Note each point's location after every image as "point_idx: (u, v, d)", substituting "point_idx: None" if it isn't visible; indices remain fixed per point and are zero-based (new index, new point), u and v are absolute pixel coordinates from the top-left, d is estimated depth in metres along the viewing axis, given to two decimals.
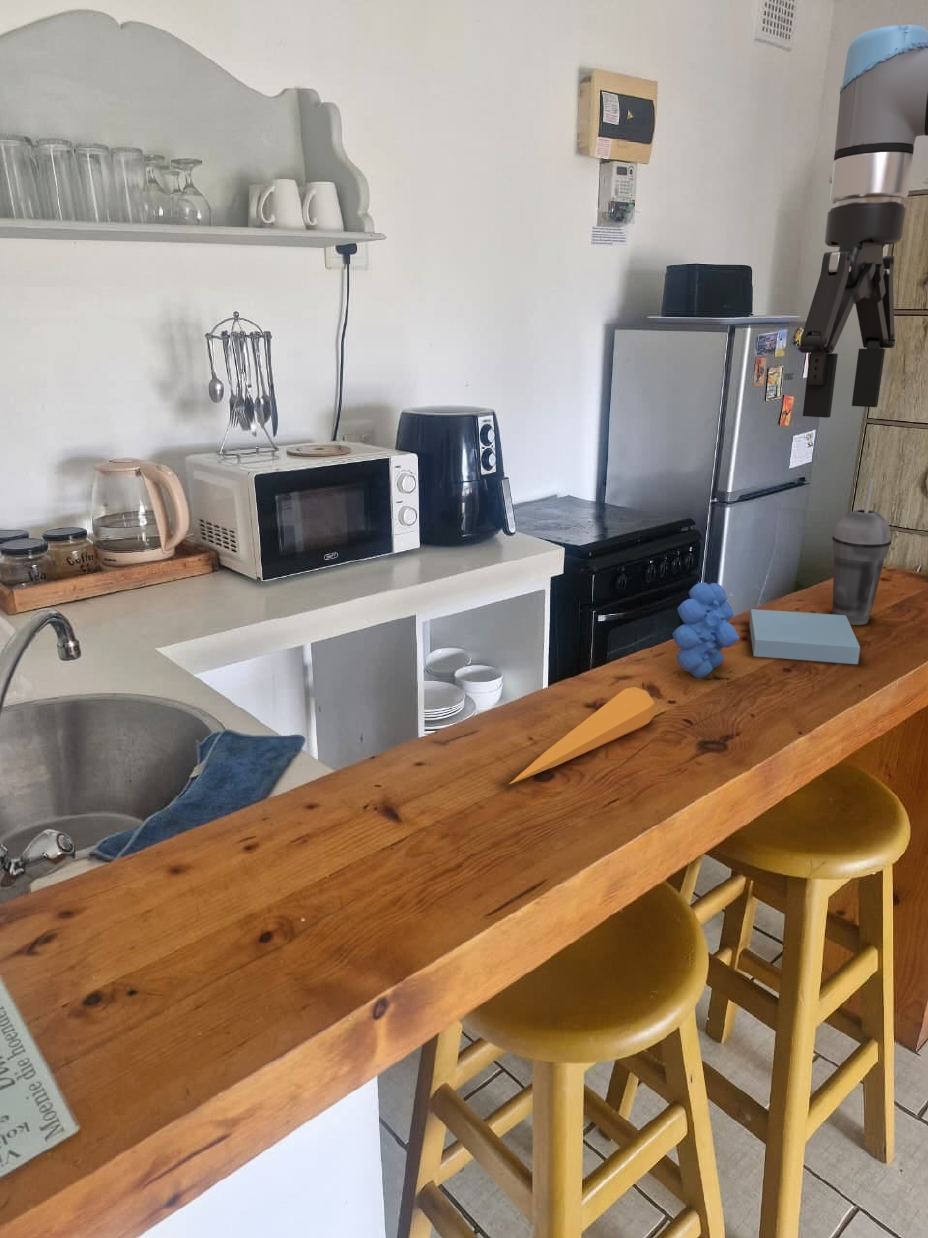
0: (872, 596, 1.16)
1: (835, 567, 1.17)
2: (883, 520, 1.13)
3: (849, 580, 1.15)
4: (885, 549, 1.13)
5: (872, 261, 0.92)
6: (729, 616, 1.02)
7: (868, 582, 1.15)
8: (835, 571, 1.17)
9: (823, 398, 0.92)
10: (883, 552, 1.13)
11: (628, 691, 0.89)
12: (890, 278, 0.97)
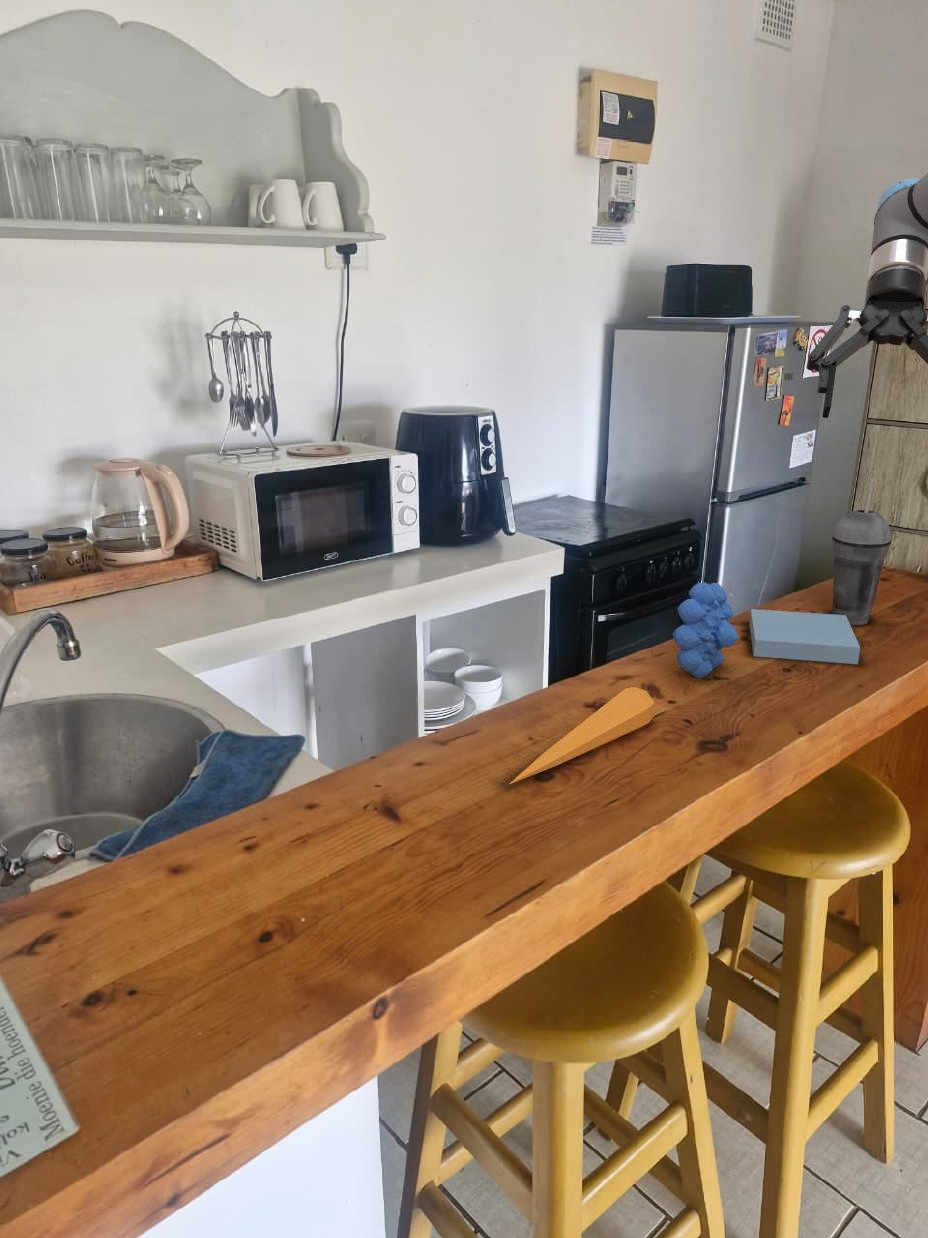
0: (872, 596, 1.16)
1: (835, 567, 1.17)
2: (883, 520, 1.13)
3: (849, 580, 1.15)
4: (885, 549, 1.13)
5: (898, 312, 1.18)
6: (729, 616, 1.02)
7: (868, 582, 1.15)
8: (835, 571, 1.17)
9: None
10: (883, 552, 1.13)
11: (628, 691, 0.89)
12: None
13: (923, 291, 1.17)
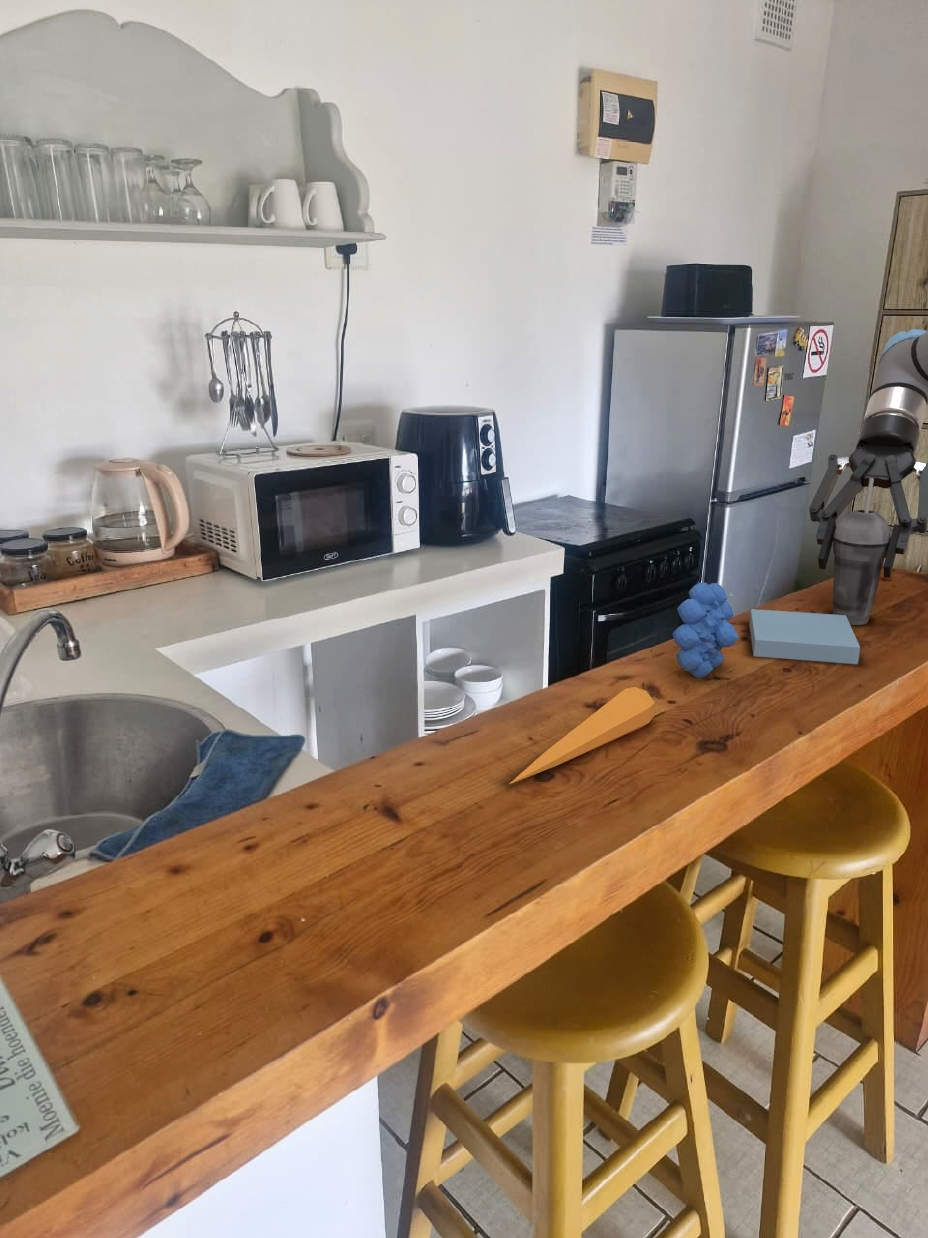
0: (872, 596, 1.16)
1: (835, 567, 1.17)
2: (883, 520, 1.13)
3: (849, 580, 1.15)
4: (885, 549, 1.13)
5: (886, 456, 1.18)
6: (729, 616, 1.02)
7: (868, 582, 1.15)
8: (835, 571, 1.17)
9: None
10: (883, 552, 1.13)
11: (628, 691, 0.89)
12: (924, 474, 1.15)
13: (912, 437, 1.17)
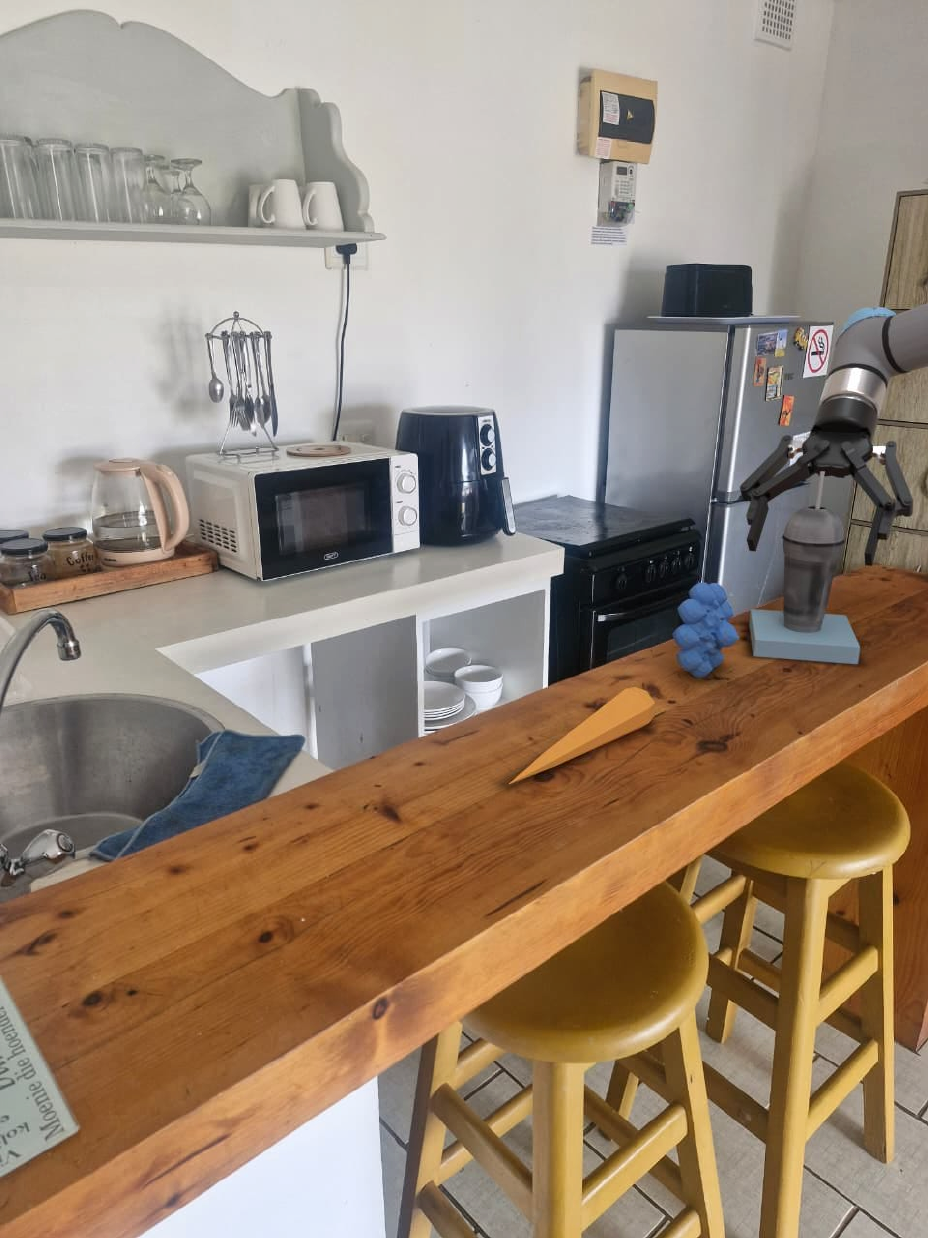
0: (825, 599, 1.07)
1: (785, 568, 1.08)
2: (835, 517, 1.04)
3: (799, 582, 1.06)
4: (837, 548, 1.04)
5: (841, 443, 1.09)
6: (729, 616, 1.02)
7: (820, 584, 1.06)
8: (785, 572, 1.08)
9: None
10: (835, 552, 1.04)
11: (628, 691, 0.89)
12: (889, 456, 1.06)
13: (869, 422, 1.08)
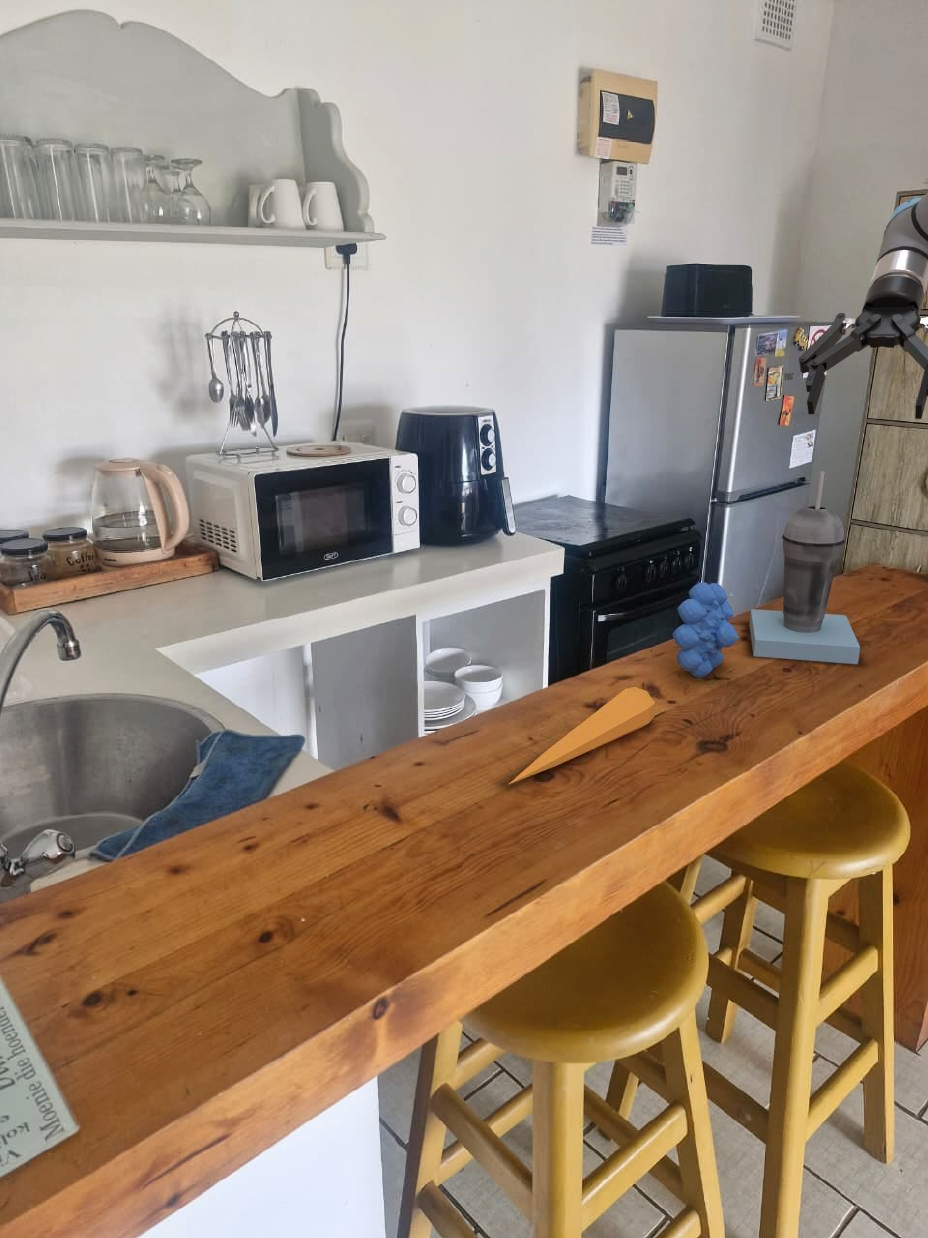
0: (825, 599, 1.07)
1: (785, 568, 1.08)
2: (835, 517, 1.04)
3: (799, 582, 1.06)
4: (837, 549, 1.04)
5: (891, 316, 1.22)
6: (729, 616, 1.02)
7: (820, 584, 1.06)
8: (785, 572, 1.08)
9: None
10: (835, 552, 1.04)
11: (628, 691, 0.89)
12: None
13: (917, 296, 1.21)
